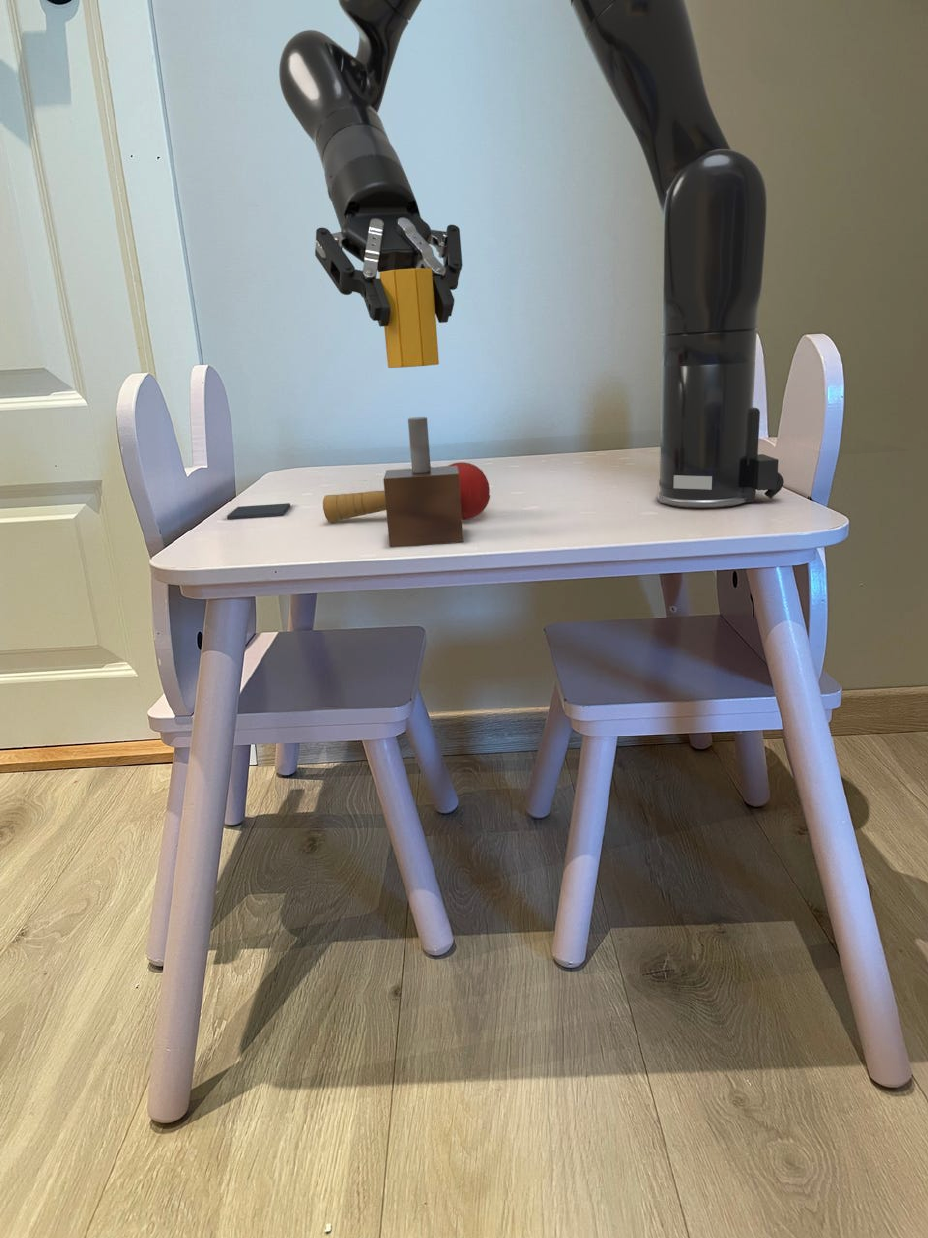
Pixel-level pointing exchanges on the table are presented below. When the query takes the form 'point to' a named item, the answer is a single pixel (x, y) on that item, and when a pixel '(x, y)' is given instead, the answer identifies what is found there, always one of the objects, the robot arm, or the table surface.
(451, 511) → the stand
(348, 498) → the kendama
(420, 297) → the sleeve
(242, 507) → the coaster
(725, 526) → the table surface
